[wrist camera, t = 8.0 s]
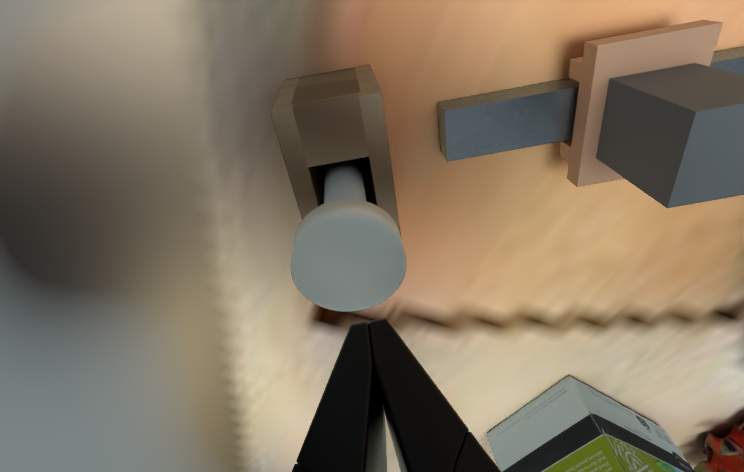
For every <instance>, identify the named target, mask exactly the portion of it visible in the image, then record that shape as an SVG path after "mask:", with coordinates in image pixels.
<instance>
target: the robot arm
mask: <svg viewBox="0 0 744 472" xmlns="http://www.w3.org/2000/svg"><path fill="white" fill-rule="evenodd" d="M384 411H385V414H384ZM385 415H386V419H387V423H388V427H389V431H390V434H391V438H392V441H393V445H394V448H395V452H396V455H397V459H398V463H399V466H400V470H401V472H501V470H500V469H499V468H498V467H497V465H496V464H495V463H494V462H493V460H492V459H491V458H490V457H489V455H488V454H487V453H486V451H485V450H484V449H483V448H482V446H481V445H480V444H479V442H478V441H477V440H476V438H475V437H474V436H473V434H472V433H471V432H469V430H468V428H467V426H466V425H465V424H464V422H463V421H462V420H461V418H460V417H459V416H458V414H457V413H456V412H455V410H454V409H453V408H452V406H451V405H450V403H449V402H448V401H447V399H446V398H445V397H444V395H443V394H442V393H441V391H440V390H439V389H438V387H437V386H436V385H435V383H434V382H433V381H432V379H431V378H430V377H429V375H428V374H427V372H426V371H425V370H424V368H423V367H422V366H421V364H420V363H419V362H418V360H417V359H416V358H415V356H414V355H413V354H412V352H411V351H410V350H409V348H408V347H407V345H406V344H405V343H404V341H403V340H402V339H401V337H400V336H399V335H398V333H397V332H396V331H395V329H394V328H393V327H392V325H391V324H390V323H389V321H388V320H387V319H385V318H383V319H378V320H372V321H370V323H368V322H361V323H356V324H352V325H351V326H350V328H349V331H348V333H347V336H346V338H345V340H344V343H343V345H342V348H341V350H340V353H339V355H338V358H337V360H336V363H335V365H334V368H333V370H332V373H331V375H330V378H329V380H328V383H327V385H326V388H325V390H324V393H323V395H322V398H321V400H320V403H319V405H318V408H317V410H316V413H315V415H314V418H313V420H312V423H311V425H310V428H309V430H308V433H307V435H306V438H305V440H304V443H303V445H302V448H301V450H300V453H299V455H298V458H297V463H298V464H295V465H294V467H293V470H292V472H387V456H386V429H385Z"/></svg>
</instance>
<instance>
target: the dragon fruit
mask: <svg viewBox="0 0 744 472" xmlns="http://www.w3.org/2000/svg"><path fill="white" fill-rule="evenodd" d="M703 448H704V451H703V452H704V453H705V454H706V455H707V459H708V460H707V461H703V462H699V463H698V465H697V466H696V467H694V471H695V472H744V422H739V423H737V424H736V425H734V426H733V428H732V430H731V432H730V434H729V435H727V436H726V437H725V438H723V439H719V438H717V437H716V436H714V435H713V434H711V433H708V434H707V435H706V440H705V443H704V447H703Z"/></svg>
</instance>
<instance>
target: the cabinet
mask: <svg viewBox="0 0 744 472" xmlns="http://www.w3.org/2000/svg"><path fill="white" fill-rule="evenodd" d="M270 114H271V117H272V120H273V124H274V127H275V130H276V134H277V137H278V141H279V144H280V147H281V151H282V154H283V157H284V161H285V164H286V167H287V171H288V174H289V177H290V181H291V184H292V187H293V191H294V194H295V197H296V201H297V204H298V207H299V211H300V214H301V218H302V220H303V219H304V218H305V216H306V215H308V214H309V213H310V212H311V211H312V210H314V209H315V208H317V207H319V206H321V205H322V204H324V186H325V182H324V178H323V174H322V170H321V166H320V165H325V164H330V163H336V162H341V161H347V160H352V159H358V158H363V157H369V160H370V166H371V172H372V178H373V184H374V189H372V190H366V191H365V196H366V201H367V202H369V203H372V204H374V205H376V206H378V207H380V208H381V209H383V210H384V211H386V212H387V213H388V214H389V215H390V216H391V217H392V219H393V220H394V221H395V223H396V225H397V227H398V230H399V233H400V225H399V218H398V211H397V204H396V196H395V189H394V182H393V175H392V167H391V160H390V153H389V146H388V139H387V131H386V124H385V117H384V110H383V102H382V95H381V91H380V88H379V86H378V84H377V81H376V79H375V76H374V74H373V72H372V69H371V67H370V65H365V66H360V67H355V68H349V69H344V70H338V71H333V72H327V73H322V74H317V75H311V76H306V77H300V78H295V79H289V80H284V81H283V84H282V86H281V88H280V91H279V93H278V95H277V98H276V100H275V102H274V105H273V107H272V109H271V111H270ZM400 237H401V233H400Z"/></svg>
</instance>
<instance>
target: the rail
mask: <svg viewBox="0 0 744 472" xmlns="http://www.w3.org/2000/svg"><path fill="white" fill-rule="evenodd" d="M710 67H713V68H717V69H721V70H725V71H729V72H733V73H737V74H741V75H744V46H743V47H738V48H732V49H727V50H721V51H716V52H714V53H713V57H712V60H711V63H710ZM579 83H580V82H578V81H576V80H574V79H571V78H568V79H562V80H557V81H551V82H546V83H540V84H535V85H529V86H524V87H518V88H513V89H507V90H502V91H496V92H491V93H485V94H480V95H475V96H469V97H464V98H458V99H453V100H447V101H442V102H437V103H438V119H439V136H440V150H441V152H442V154H443V155H444V157H445V159H446V160H447V162H448V161H453V160H459V159H464V158H470V157H476V156H481V155H487V154H492V153H498V152H503V151H509V150H514V149H520V148H526V147H531V146H537V145H542V144H548V143H553V142H559V141H564V140H570V139H572V136H573V129H574V121H575V114H576V106H577V98H578V91H579Z"/></svg>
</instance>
